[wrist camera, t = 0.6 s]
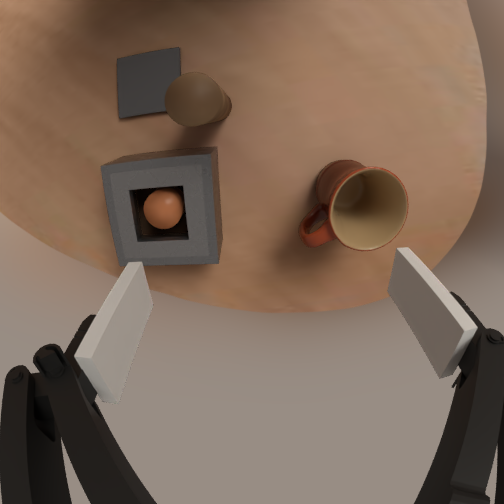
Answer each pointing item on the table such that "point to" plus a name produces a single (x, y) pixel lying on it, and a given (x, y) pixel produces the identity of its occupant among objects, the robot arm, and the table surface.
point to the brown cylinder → (196, 100)
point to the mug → (356, 207)
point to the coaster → (146, 81)
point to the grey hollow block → (196, 204)
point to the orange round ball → (164, 207)
